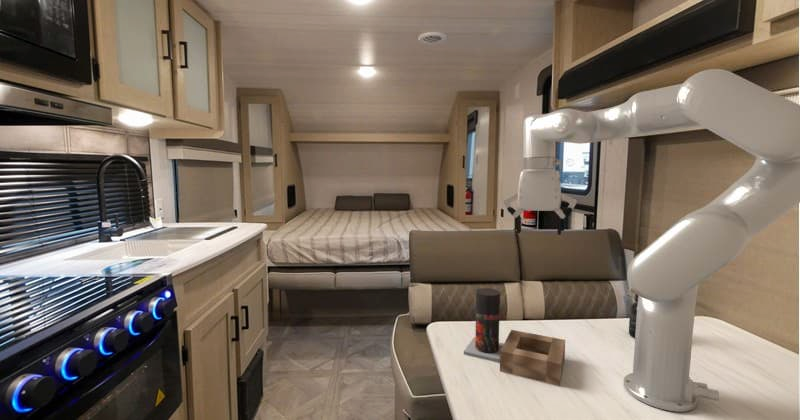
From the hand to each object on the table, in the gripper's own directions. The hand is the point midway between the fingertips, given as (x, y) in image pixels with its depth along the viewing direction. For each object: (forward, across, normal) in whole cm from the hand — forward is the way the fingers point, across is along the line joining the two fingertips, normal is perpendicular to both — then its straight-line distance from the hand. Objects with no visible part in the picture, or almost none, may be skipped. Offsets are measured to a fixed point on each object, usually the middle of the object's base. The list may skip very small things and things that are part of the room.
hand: (538, 233), depth 95 cm
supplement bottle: (+32, -26, -20) cm, 45 cm away
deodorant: (+30, +12, +6) cm, 33 cm away
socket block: (+31, 0, +9) cm, 32 cm away
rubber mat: (+30, +12, +6) cm, 33 cm away
